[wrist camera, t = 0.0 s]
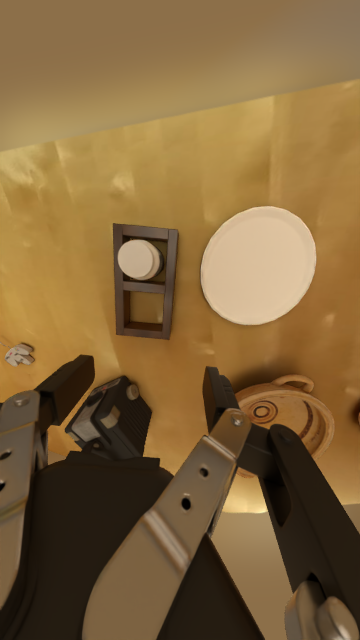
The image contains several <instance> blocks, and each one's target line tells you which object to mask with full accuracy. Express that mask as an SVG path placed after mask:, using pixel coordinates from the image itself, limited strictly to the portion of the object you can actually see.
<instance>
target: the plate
mask: <svg viewBox="0 0 360 640" xmlns="http://www.w3.org/2000/svg"><path fill="white" fill-rule="evenodd" d="M315 266H316V248H315V243H314V240H313V238H312V235H311V232H310V230H309V229H308V227H307V226H306V225H305V224H304V223H303V221H302V220H301V219H300V218H299V217H297V216H296V215H294V214H293V213H291V212H289V211H288V210H286V209H281V208H277V207H273V206H264V207H253V208H251V209H248V210H245V211H243V212H240V213H237V214H236V215H235V216H233V217H232V218H230V219H229V220H228V221H226V222H225V223H223V224H222V226H221V227H220V228H219V229H218V230H217V231H216V233H215V234H214V235H213V236H212V237H211V239H210V241H209V243H208V245H207V247H206V249H205V251H204V254H203V259H202V263H201V268H200V272H201V286H202V289H203V292H204V296H205V298H206V300H207V301H208V303H209V304H210V306H211V308H212V309H213V310H214V311H216V312H217V313H218V314H219V315H220V316H221V317H223V318H225V319H227V320H229V321H231V322H233V323H237V324H242V325H260V324H263V323H267V322H270V321H274V320H275V319H277V318H279V317H281V316H283V315H284V314H286V313H287V312H288V311H290V310H291V309H292V308H293V307H294V306H295V305H296V304H298V302H299V301H300V300H301V298H302V297H303V296H304V294H305V293H306V292H307V290H308V288H309V285H310V283H311V281H312V279H313V276H314V271H315Z"/></svg>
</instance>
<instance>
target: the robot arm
mask: <svg viewBox="0 0 360 640" xmlns="http://www.w3.org/2000/svg"><path fill="white" fill-rule="evenodd" d="M94 378H95V369H94V358H93V356H90V355H79V356H78V357H77V358H76V359H75V360H74V361H70V362H68V363H66V364H64V365H63V366H61V367H60V368H59V369H58V370H57V371H55V372H54V373H53V374H52V376H49V377H48V378H47V379H46V380H45V381H43V382H42V383H41V384H40V385H39V386H37V387H36V388H35V389H34V390H29V391H24V392H20V393H18V394H15V395H13V396H12V397H10V398H8V399H7V400H6V401H5V402H4V403H0V640H265V638H264V636H263V635H262V633H261V631H260V629H259V627H258V625H257V624H256V622H255V620H254V618H253V616H252V614H251V612H250V611H249V609H248V607H247V605H246V603H245V601H244V600H243V598H242V596H241V594H240V592H239V590H238V588H237V587H236V585H235V583H234V581H233V579H232V578H231V576H230V574H229V572H228V570H227V568H226V566H225V564H224V563H223V561H222V559H221V557H220V555H219V553H218V552H217V550H216V548H215V546H214V544H213V542H212V541H211V537H212V535H213V532H214V530H215V527H216V525H217V522H218V520H219V517H220V514H221V512H222V509H223V506H224V503H225V500H226V498H227V495H228V493H229V490H230V488H231V485H232V483H233V481H234V478H235V476H236V473H237V471H238V468H239V467H240V468H242V469H244V470H246V471H248V472H251V473H253V474H255V475H257V476H258V479H259V482H260V486H261V489H262V492H263V496H264V499H265V502H266V506H267V509H268V512H269V515H270V519H271V522H272V525H273V529H274V532H275V535H276V539H277V542H278V545H279V549H280V552H281V555H282V559H283V562H284V565H285V568H286V571H287V575H288V578H289V582H290V585H291V588H292V592H293V595H292V597H291V598H290V600H289V601H288V603H287V605H286V609H285V630H286V635H287V640H360V534H359V532H358V531H357V529H356V528H355V526H354V524H353V523H352V521H351V520H350V518H349V516H348V515H347V513H346V511H345V510H344V508H343V506H342V505H341V503H340V502H339V500H338V498H337V497H336V495H335V493H334V492H333V490H332V489H331V487H330V485H329V484H328V482H327V480H326V479H325V477H324V476H323V474H322V472H321V471H320V469H319V468H318V466H317V464H316V463H315V461H314V459H313V458H312V456H311V455H310V453H309V451H308V450H307V448H306V446H305V445H304V443H303V442H302V440H301V438H300V437H299V436H298V435H297V434H296V433H295V432H294V431H293V430H292V429H290V428H289V427H287V426H285V425H282V424H273V425H271V426H270V429H267V428H264V427H261V426H259V425H256V424H254V423H252V422H251V420H250V418H249V417H248V416H247V415H246V414H245V413H244V412H243V411H241V409H240V407H239V404H238V402H237V399H236V397H235V394H234V392H233V389H232V387H231V384H230V381H229V380H228V379H227V378H226V377H225V376H224V375H219V372H218V369H217V367H208V366H206V369H205V374H204V381H203V399H204V406H205V412H206V419H207V426H208V432H209V435H208V436H206V435H204V436H203V437H202V438H201V439H200V441H199V442H198V443H197V445H196V446H195V448H194V449H193V451H192V452H191V453H190V455H189V456H188V458H187V459H186V460H185V462H184V463H183V465H182V466H181V467H180V469H179V470H178V472H177V473H176V474H175V476H173V475H172V474H171V473H170V472H169V471H167V470H165V469H164V468H161V467H159V465H160V458H151V457H139V456H138V457H133V458H127V459H122V460H117V461H111V460H109V459H106V458H104V457H102V456H99V455H97V454H95V453H92V452H80V451H70V452H69V454H68V456H67V457H66V459H65V460H62V461H58V462H55V463H53V464H50V465H48V431H47V429H48V428H49V427H50V425H57V426H60V425H61V424H62V422H63V421H64V420H65V418H66V417H67V416H68V414H69V413H70V412H71V410H72V409H73V408H74V407H75V405H76V404H77V403H78V401H79V400H80V399H81V397H82V396H83V395H84V394H85V392H86V391H87V390H88V388H89V387H90V386H91V384H92V383H93V381H94Z"/></svg>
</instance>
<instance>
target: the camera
mask: <svg viewBox="0 0 360 640" xmlns="http://www.w3.org/2000/svg"><path fill="white" fill-rule="evenodd" d="M151 415H152V412H151V410H150V409H149V408H148V406H147V405H146V403H145V402H144V401H143V399H142V398H141V397H140V395H139V391H138V388H137V386H136V385H131V383H130V382H129V381H128V379H127V378H126V377H125V376H122V377H120V378H118V379H116V380H113V381H111V382H109V383H107V384H105V385H102V386H100V387H98V388H96V389H94V390H93V391H92V392H91V393H90V395H89V396H88V398H87V399H86V400H85V402H84V403H83V404H82V406H81V407H80V409H79V410H78V411H77V413H76V414H75V415H74V417H73V418H72V420H71V421H70V422H69V424H68V425H67V426H66V428H65V432H66V433H68V434H69V435H70V436H71V437H72V438H73V439H74V440H75V443H76V444H78V445H79V446H80V447H81V448H82V451H81V452H92V453H95V454H97V455H99V456H102V457H104V458H106V459H109V460H111V461H117V460H122V459H127V458H133V457H138V456H139V457H143V452H144V445H145V441H146V437H147V433H148V429H149V428H148V426H149V422H150V419H151Z"/></svg>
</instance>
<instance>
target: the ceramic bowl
mask: <svg viewBox="0 0 360 640" xmlns="http://www.w3.org/2000/svg"><path fill="white" fill-rule="evenodd" d="M289 381H301V382H304V383H305V384H304V385H303V386H301V387H300V388H296V387H293V386H290V385H286V384H284V383H286V382H289ZM313 386H314V384H313V382H312V380H311V379H309V378H308V377H305V376H302V375H296V374H289V375H285V376H282V377H279V378H278V379H276V380H274V381H272V382H271V383H263V384H257V385H253V386H249V387H247V388H245V389H242V390H240V391H239V392H237V393H235V397H236V399H237V402H238V404H239V407H240V409H241V411H243V412H244V413H245V414H246V415H247V416H248V417H249V418H250V420H251V422H252V423H254V424H256V425H259V426H261V427H264V428H267V429H270V426H271V425H273V424H282V425H285V426H287V427H289V428H290V429H292V430H293V431H294V432H295V433H296V434H297V435H298V436H299V437H300V438H301V440H302V442H303V443H304V445H305V446H306V448H307V450H308V451H309V453H310V455H311V456H312V458H313V459H314V461H316V460H317V459H318V458H319V457H320V456H321V455H322V454H323V453H324V452H325V451H326V450H327V448H328V447H329V445H330V444H331V441H332V439H333V436H334V429H335V427H334V419H333V417H332V414H331V412H330V411H329V409H328V408H327V406H326V405H324V404H323V403H322V402H321V401H320V400H318V399H317V398H315V397H313V396H311V395H309V394H308V393H309V392H310V391H311V390H312V389H313ZM237 474H238V475H239V476H241V477H244V478H252V477H254V476H257V475H255V474H253V473H251V472H248V471H246V470H244V469H242V468H240V467H239V468H238V471H237ZM257 477H258V476H257Z"/></svg>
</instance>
